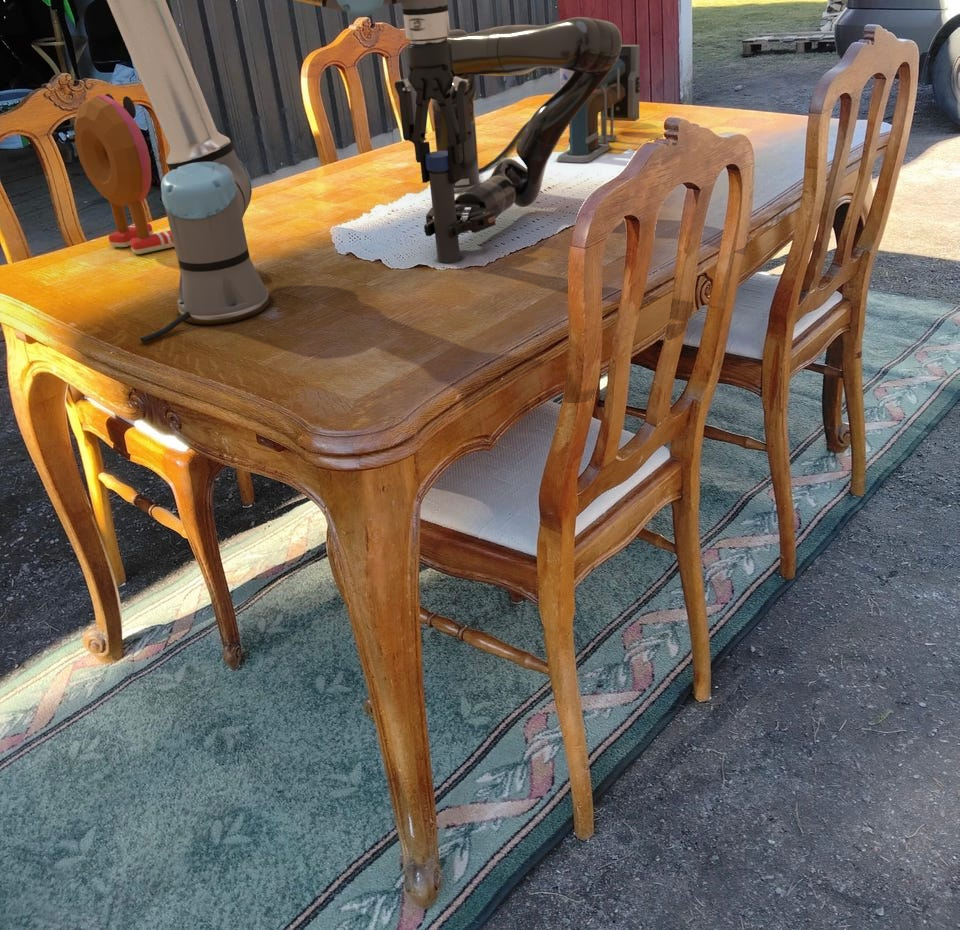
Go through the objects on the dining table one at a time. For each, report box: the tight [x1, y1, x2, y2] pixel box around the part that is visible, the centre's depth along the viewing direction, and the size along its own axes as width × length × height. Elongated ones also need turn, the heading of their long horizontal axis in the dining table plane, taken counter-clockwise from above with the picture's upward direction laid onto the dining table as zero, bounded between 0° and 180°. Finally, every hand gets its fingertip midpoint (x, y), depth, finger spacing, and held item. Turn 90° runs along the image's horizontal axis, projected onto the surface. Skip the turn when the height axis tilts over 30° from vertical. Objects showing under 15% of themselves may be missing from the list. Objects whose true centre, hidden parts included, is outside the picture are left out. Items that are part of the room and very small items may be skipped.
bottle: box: [429, 170, 461, 264], centre depth 175 cm, size 4×4×18 cm
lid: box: [425, 150, 449, 172], centre depth 171 cm, size 5×5×2 cm
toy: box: [73, 93, 175, 255], centre depth 194 cm, size 21×10×30 cm, turn 47°
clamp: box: [556, 44, 641, 164], centre depth 243 cm, size 35×9×21 cm, turn 151°
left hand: (441, 181), depth 173 cm, fingers closed on lid, 5 cm apart
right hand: (438, 231), depth 175 cm, fingers closed on bottle, 4 cm apart
